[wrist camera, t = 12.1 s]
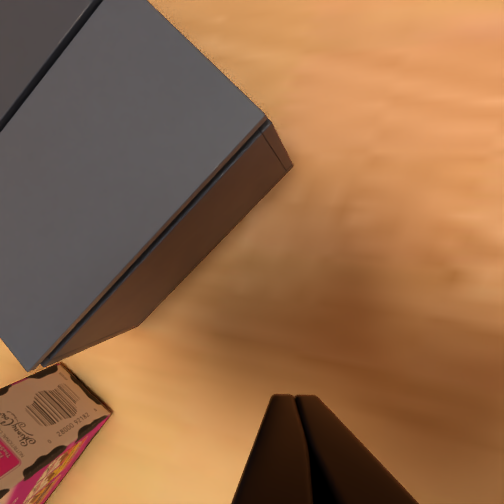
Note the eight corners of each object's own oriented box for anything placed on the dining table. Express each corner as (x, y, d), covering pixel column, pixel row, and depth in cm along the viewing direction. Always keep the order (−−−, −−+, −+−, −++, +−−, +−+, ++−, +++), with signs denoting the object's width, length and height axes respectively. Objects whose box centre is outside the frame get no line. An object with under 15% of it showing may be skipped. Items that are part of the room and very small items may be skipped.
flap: (268, 118, 12) (265, 114, 12) (35, 369, 15) (26, 372, 14) (127, -17, 14) (121, -25, 13) (-71, 235, 16) (-81, 235, 15)
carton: (293, 165, 20) (268, 114, 12) (137, 326, 22) (27, 375, 14) (114, -10, 22) (-12, -156, 14) (-14, 154, 24) (-187, 110, 16)
